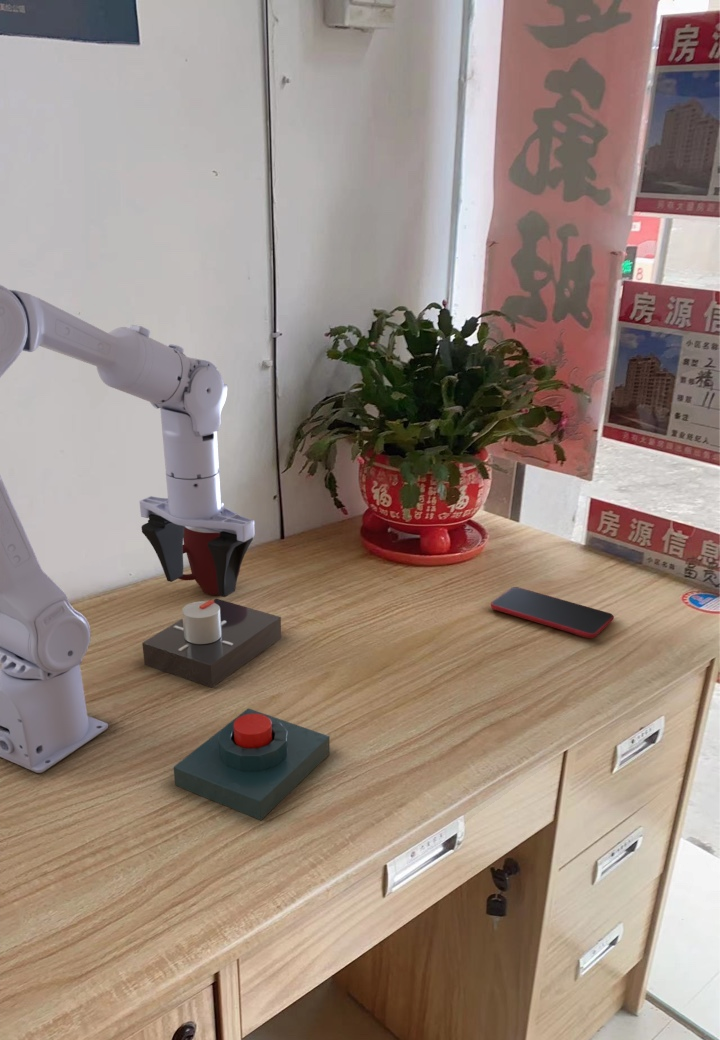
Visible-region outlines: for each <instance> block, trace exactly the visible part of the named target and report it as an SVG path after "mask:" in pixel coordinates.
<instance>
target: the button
mask: <svg viewBox="0 0 720 1040" xmlns="http://www.w3.org/2000/svg"><path fill="white" fill-rule="evenodd" d="M236 718H237V717H236ZM271 740H272V723H271V720H270V719H269V718H268V717H267V716H264V715H261V714H246V715H243V716H241V717H239V718H237V719H236V720H235V722H234V741H235V743H236V744H237V745H238V746H240V747H243V748H260V747H263V746H266V745H268V744H269V743H270V742H271Z"/></svg>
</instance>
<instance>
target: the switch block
mask: <svg viewBox="0 0 720 1040" xmlns="http://www.w3.org/2000/svg"><path fill="white" fill-rule="evenodd" d="M246 714H261V715H264V716H267V717H268V718H269V719H270V720H271V723H272V740H271V742H270V743H269V744H268V745H266V746H263V747H260V748H243V747H240V746H238V745H237V744H236V743H235V741H234V722H235V720H236V719H237V718H239V717H241V716H243V715H246ZM330 738H331V737H330V736H329V735H327V734H324V733H321V732H318V731H315V730H313V729H310V728H308V727H304V726H300V725H298V724H295V723H292V722H289V721H286V720H283V719H281V718H278V717H275V716H272V715H270V714H266V713H263V712H260V711H257V710H255V709H251V708H247V709H245V710H244V711H243V712H241V713H240V714H239V715H238V716H236V717H235V718H233V720H231V721H230V722H229V723H227V725H225V726H224V727H223V728H222V729H220V730H219V731H217V732H216V733H215V734H214V735H212V736H211V737H210V738H208V739H207V740H206V741H205V742H203V743H202V744H201V745H200V746H198V747H197V748H196V749H194V750H193V751H192V752H191V753H190V754H188V755H187V756H186V757H184V758H183V759H181V760H180V761H179V762H177V764H176V765H174V766H173V776H174V785H175V787H178V788H180V789H183V790H184V791H185V790H186V791H188V792H191V793H193V794H196V795H198V796H201V797H203V798H205V799H207V800H210V801H212V802H215V803H218V804H220V805H222V806H225V807H227V808H229V809H232V810H234V811H237V812H239V813H242V814H244V815H246V816H249V817H252V818H254V819H256V820H260V821H262V820H263V819H264V818H265V817H266V816H267V815H268V814H269V813H270V812H271V811H272V810H274V809H275V808H276V807H277V806H278V805H279V804H280V803H281V802H282V801H283V800H284V799H285V798H286V797H287V796H288V795H289V794H290V793H291V792H292V791H293V790H294V789H295V788H296V787H297V786H298V785H299V784H300V783H301V782H302V781H304V779H305V778H307V776H309V775H310V774H311V772H312V771H314V770H315V769H316V768H317V767H318V766H319V765H320V764H321V763H322V762H323V761H324V760H325V759H326V758H327V757H328V756H330V749H331V748H330V744H331V743H330V741H331V739H330Z"/></svg>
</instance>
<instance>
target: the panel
mask: <svg viewBox="0 0 720 1040" xmlns="http://www.w3.org/2000/svg"><path fill="white" fill-rule="evenodd" d="M213 600H214V603H216V604H217V605H219V607H220V612H221V629H222V636H221V638H220V639H218V640H217V641H215V642H212V643H208V644H194V643H190V642H188V641H187V640H186V639H185V638H184V629H183V618H181V619H179V620H178V621H176V622H175V623H172V624H171V625H169V626H168V627H166V628H164V629H163V630H161V631H159V632H157V633H156V634H155V635H154V634H153V636H151V637H149V638H147V639H146V640H144V641H143V642H141V645H142V653H143V662H144V663H143V664H144V666H146V667H150V668H153V669H156V670H159V671H162V672H163V673H167V674H170V675H173V676H177V677H179V678H182V679H185V680H188V681H191V682H194V683H197V684H200V685H203V686H205V687H207V688H208V687H209V688H214V687H215V686H216V685H218V684H220V682H222V681H223V680H225V679H227V678H228V677H230V676H231V675H232V674H234V673H235V672H236V671H238V670H240V668H242V667H243V666H245V665H247V663H249V662H250V661H252V660H253V659H254V658H256V657H257V656H258V655H260V654H261V653H263V652H264V651H266V650H267V649H268V648H270V647H271V646H273V645H274V644H275V643H277V642H278V641H280V640H281V639H282V617H281V616H278V615H275V614H272V613H269V612H264V611H261V610H257V609H254V608H251V607H247V606H244V605H240V604H236V603H233V602H230V601H226V600H222V599H219V598H215V599H213Z"/></svg>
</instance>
